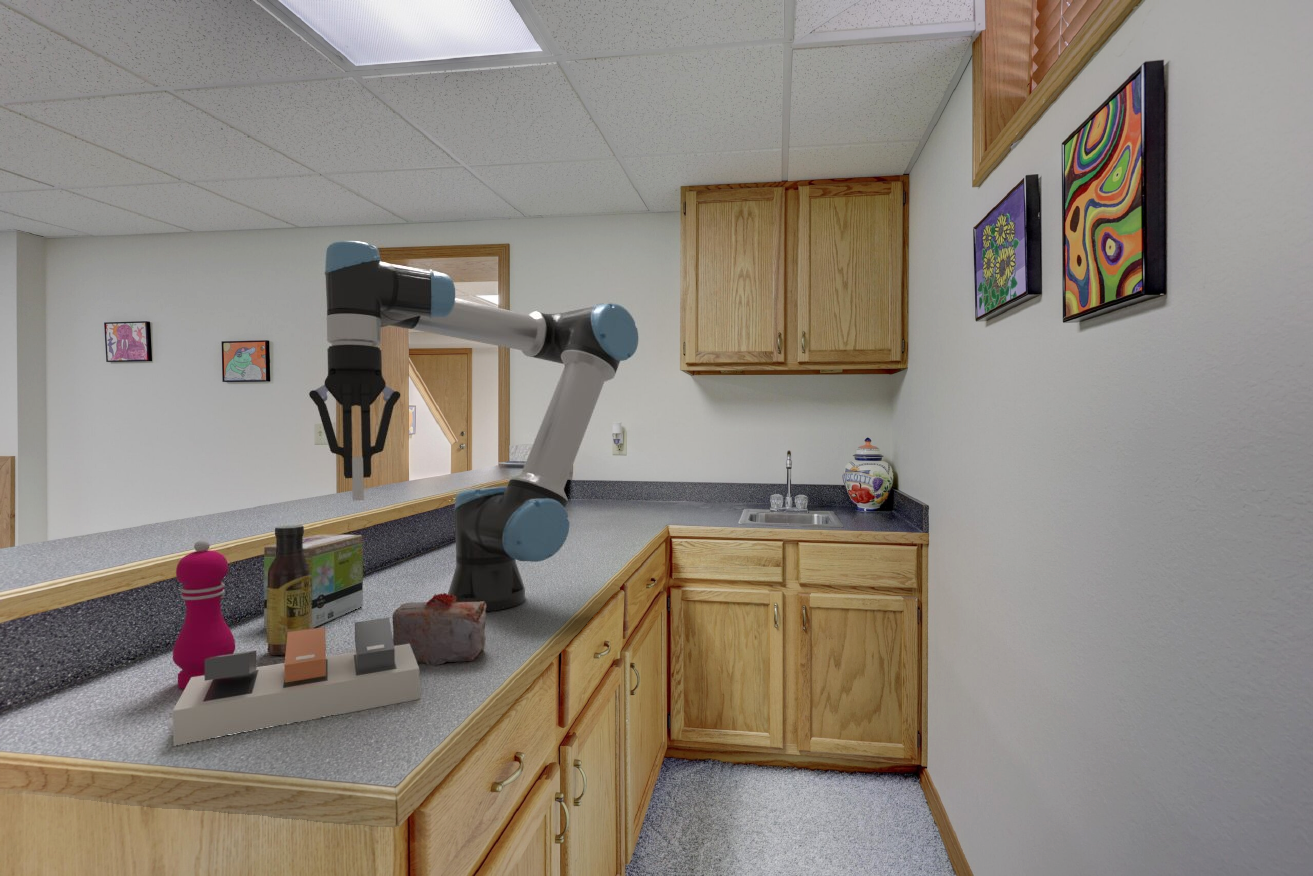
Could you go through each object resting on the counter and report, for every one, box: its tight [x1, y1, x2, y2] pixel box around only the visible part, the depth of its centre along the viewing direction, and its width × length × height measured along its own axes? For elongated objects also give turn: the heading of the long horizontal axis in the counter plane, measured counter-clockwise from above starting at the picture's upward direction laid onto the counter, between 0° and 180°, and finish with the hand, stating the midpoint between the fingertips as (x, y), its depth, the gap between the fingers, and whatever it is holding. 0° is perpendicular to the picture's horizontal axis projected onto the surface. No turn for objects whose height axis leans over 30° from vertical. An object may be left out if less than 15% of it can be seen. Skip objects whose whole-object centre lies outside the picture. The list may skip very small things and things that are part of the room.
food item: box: [391, 592, 487, 666], centre depth 99 cm, size 14×8×10 cm, turn 94°
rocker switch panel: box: [172, 644, 421, 747], centre depth 83 cm, size 26×11×4 cm, turn 117°
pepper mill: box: [172, 539, 236, 691], centre depth 91 cm, size 7×7×20 cm
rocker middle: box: [284, 626, 327, 683], centre depth 83 cm, size 4×8×2 cm, turn 27°
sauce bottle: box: [266, 524, 312, 656], centre depth 103 cm, size 7×6×20 cm
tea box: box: [263, 533, 364, 629], centre depth 121 cm, size 15×10×15 cm, turn 171°
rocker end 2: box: [354, 617, 395, 671], centre depth 86 cm, size 4×8×2 cm, turn 27°
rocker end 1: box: [205, 650, 257, 681], centre depth 79 cm, size 4×8×2 cm, turn 27°
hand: (358, 499), depth 99 cm, fingers closed
